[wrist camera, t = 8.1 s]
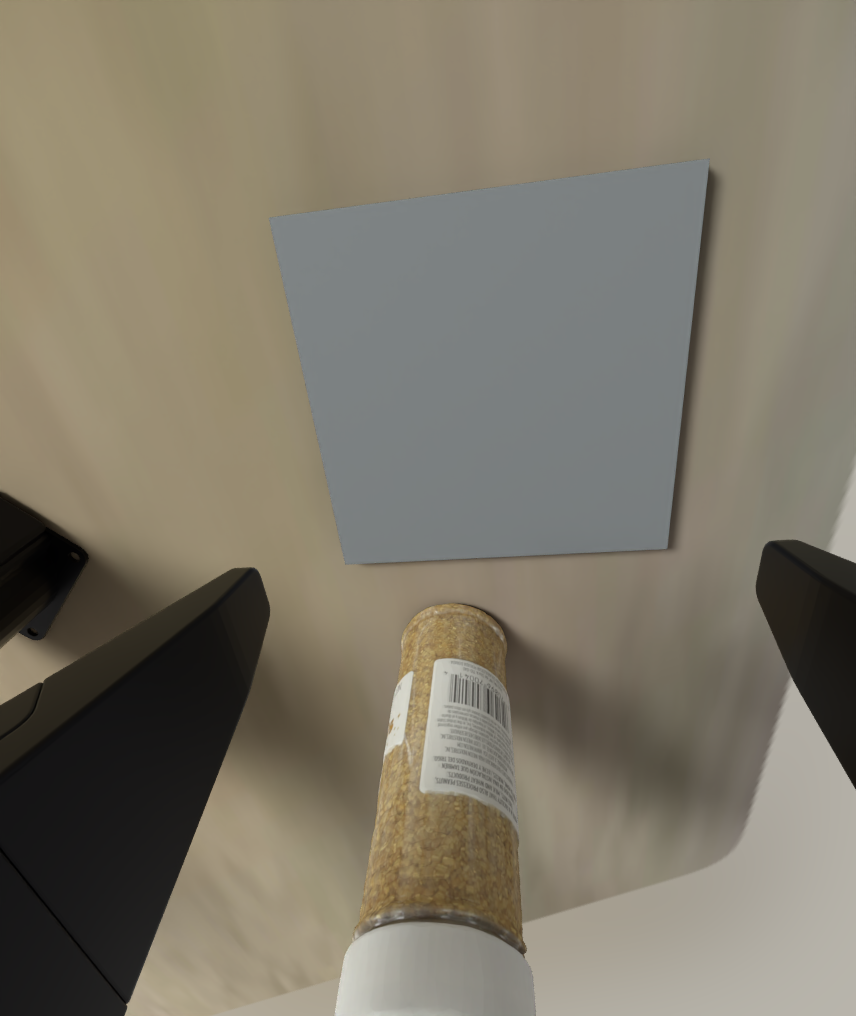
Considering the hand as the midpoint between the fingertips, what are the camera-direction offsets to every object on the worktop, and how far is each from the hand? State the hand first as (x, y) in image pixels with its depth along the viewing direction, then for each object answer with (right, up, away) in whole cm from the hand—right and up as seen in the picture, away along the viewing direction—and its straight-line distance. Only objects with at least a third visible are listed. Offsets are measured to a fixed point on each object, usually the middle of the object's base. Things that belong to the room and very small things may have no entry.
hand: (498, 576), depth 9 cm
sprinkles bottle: (0, -4, +14) cm, 15 cm away
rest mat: (+1, +5, +9) cm, 10 cm away
